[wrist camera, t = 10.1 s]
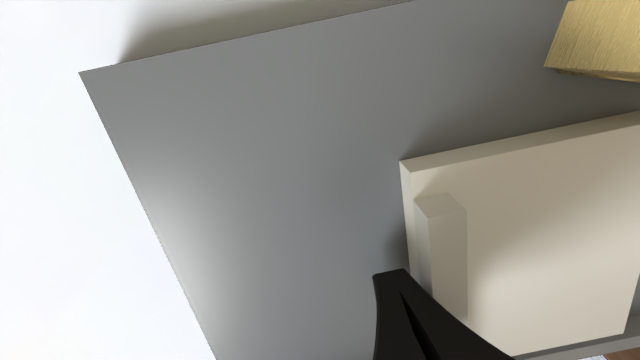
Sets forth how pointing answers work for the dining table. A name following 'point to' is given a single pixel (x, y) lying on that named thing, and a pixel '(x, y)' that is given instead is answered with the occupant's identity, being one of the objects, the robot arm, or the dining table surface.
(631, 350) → the wooden block
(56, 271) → the dining table surface
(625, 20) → the key
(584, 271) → the cover
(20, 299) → the dining table surface
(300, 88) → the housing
